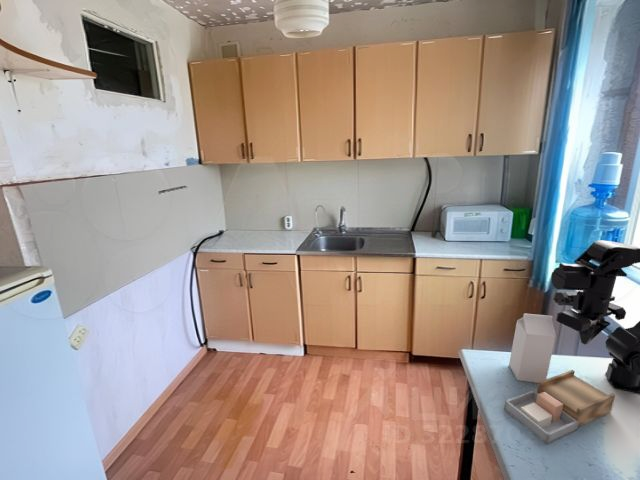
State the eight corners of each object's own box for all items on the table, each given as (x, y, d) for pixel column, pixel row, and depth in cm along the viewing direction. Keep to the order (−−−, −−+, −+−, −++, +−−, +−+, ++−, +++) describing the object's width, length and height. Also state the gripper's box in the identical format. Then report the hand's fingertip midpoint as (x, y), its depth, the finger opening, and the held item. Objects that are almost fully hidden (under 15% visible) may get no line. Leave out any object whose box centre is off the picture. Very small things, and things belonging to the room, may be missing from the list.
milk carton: (545, 384, 92) (559, 322, 87) (517, 380, 93) (528, 320, 88) (534, 368, 99) (547, 309, 94) (508, 364, 100) (519, 307, 95)
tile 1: (521, 407, 80) (519, 415, 81) (538, 421, 76) (536, 430, 77) (534, 402, 82) (532, 410, 82) (552, 415, 78) (550, 424, 78)
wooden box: (568, 386, 91) (572, 369, 90) (610, 412, 82) (615, 394, 81) (535, 398, 87) (538, 382, 85) (575, 428, 78) (580, 409, 76)
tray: (531, 398, 87) (533, 390, 86) (576, 430, 77) (578, 421, 77) (503, 408, 84) (505, 400, 83) (546, 444, 74) (548, 435, 73)
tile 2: (544, 391, 82) (537, 394, 81) (563, 404, 78) (556, 407, 77) (541, 406, 84) (534, 409, 83) (559, 419, 80) (552, 423, 79)
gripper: (587, 274, 96) (575, 322, 100) (542, 283, 90) (531, 335, 94) (633, 289, 86) (618, 342, 90) (586, 301, 80) (573, 357, 84)
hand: (584, 343), depth 90 cm, fingers closed
